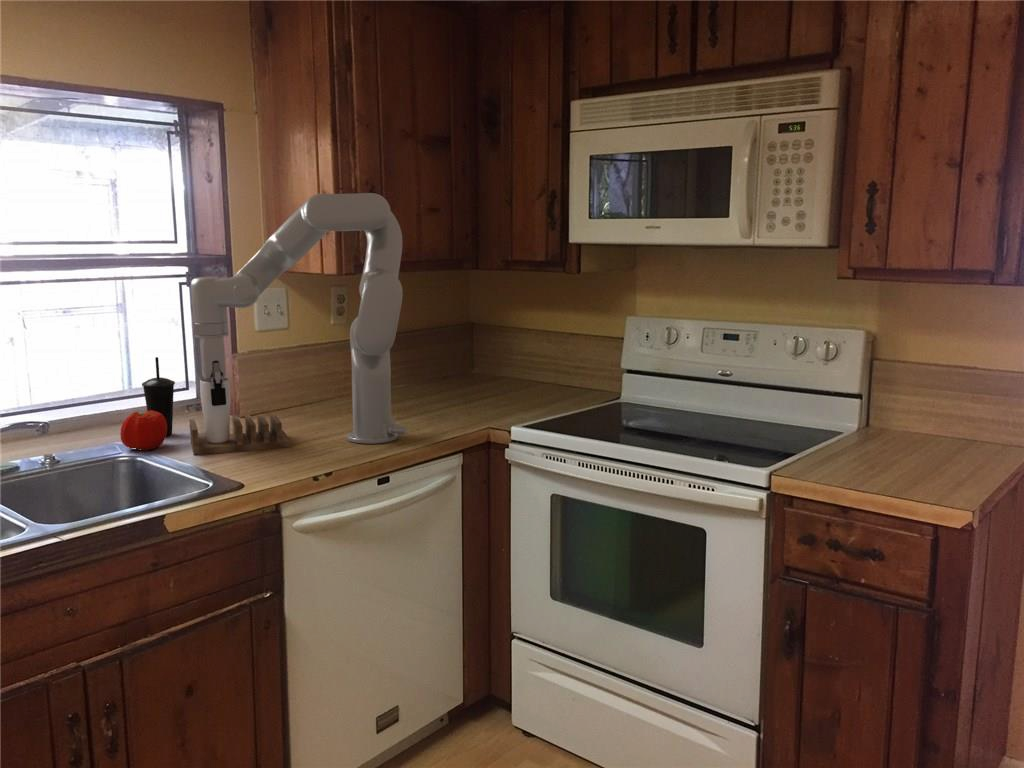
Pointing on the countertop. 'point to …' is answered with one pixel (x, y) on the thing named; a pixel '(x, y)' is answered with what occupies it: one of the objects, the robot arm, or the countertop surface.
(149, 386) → the drinking cup
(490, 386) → the countertop surface
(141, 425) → the tomato
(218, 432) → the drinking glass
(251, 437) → the rack
